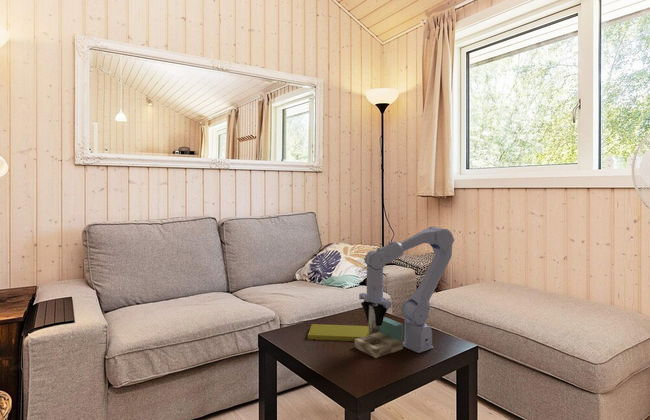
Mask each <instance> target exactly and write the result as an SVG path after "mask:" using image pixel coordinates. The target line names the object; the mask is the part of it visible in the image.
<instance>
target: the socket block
mask: <svg viewBox="0 0 650 420" xmlns="http://www.w3.org/2000/svg"><path fill="white" fill-rule="evenodd" d="M403 342H404V340H403V341H400V340H397V339H395V338H392V337H390V336H388V335H385V334H383V333H381V332H377V333H372V334H369V335H368V336H364V337H361V338H357V339H355V341H354V348H355V349H358V351H361V352H363V353H364V354H367V355H369V356H371V357H373V358H374V359H377V358H380V357H383V356H386V355H389V354H392V353H396V352H399V351H401V350H403V348H404V346H403Z"/></svg>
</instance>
